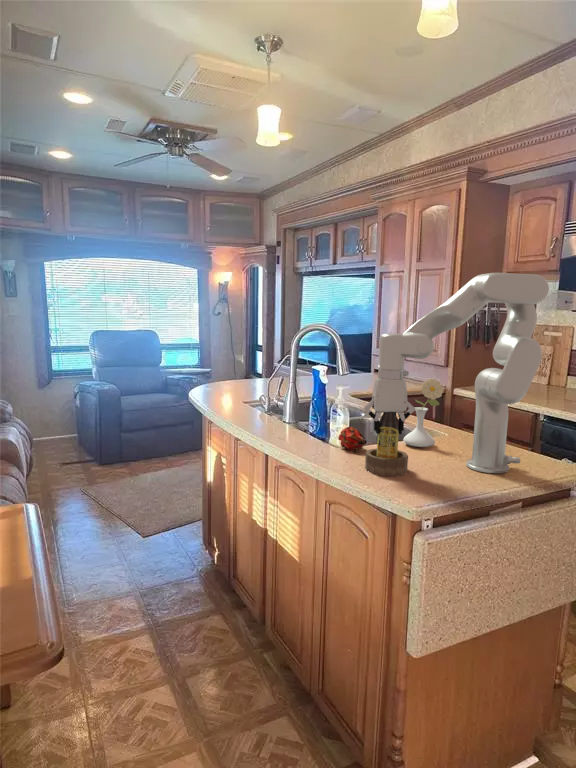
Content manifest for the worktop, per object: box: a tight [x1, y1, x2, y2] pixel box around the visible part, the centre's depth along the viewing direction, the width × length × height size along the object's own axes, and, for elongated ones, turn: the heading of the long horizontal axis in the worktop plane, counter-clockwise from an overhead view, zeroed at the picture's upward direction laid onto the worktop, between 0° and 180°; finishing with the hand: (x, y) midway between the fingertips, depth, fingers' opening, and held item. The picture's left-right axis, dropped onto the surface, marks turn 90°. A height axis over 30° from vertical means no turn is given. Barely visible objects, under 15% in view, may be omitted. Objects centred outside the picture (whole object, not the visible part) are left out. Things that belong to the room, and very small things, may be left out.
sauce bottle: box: [376, 412, 400, 459], centre depth 153 cm, size 7×6×20 cm
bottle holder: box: [364, 447, 409, 477], centre depth 155 cm, size 12×12×5 cm
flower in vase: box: [402, 377, 444, 448], centre depth 182 cm, size 13×11×25 cm
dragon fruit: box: [337, 426, 368, 452], centre depth 177 cm, size 8×8×12 cm
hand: (388, 432), depth 153 cm, fingers closed on sauce bottle, 6 cm apart
